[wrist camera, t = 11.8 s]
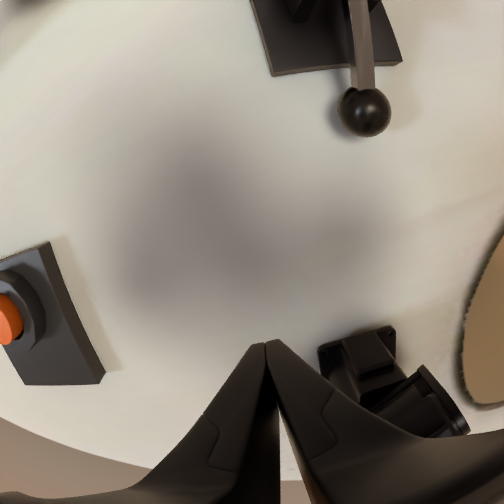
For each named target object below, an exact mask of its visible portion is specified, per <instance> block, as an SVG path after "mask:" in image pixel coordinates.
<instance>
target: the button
mask: <svg viewBox="0 0 504 504" xmlns="http://www.w3.org/2000/svg"><path fill="white" fill-rule="evenodd" d="M22 330H23V319H22V317H21V315H20V313H19V311H18V308H17V307H16V305H15V304H14V303H13V302H12V301H11V300H10V298H9V297H8V296H6V295H3V294H0V344H2V345H8V344H10V343H11V342H12V341H13V340H14V339H15V338H16V337H17V336H18V335H19V334H20V333H21V332H22Z"/></svg>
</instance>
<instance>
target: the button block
mask: <svg viewBox="0 0 504 504" xmlns="http://www.w3.org/2000/svg"><path fill="white" fill-rule="evenodd" d="M0 294H3V295H6V296H8V297H9V298H10V300H11V301H12V302H13V303H14V304H15V305H16V307H17V308H18V311H19V313H20V315H21V317H22V319H23V330H22V332H21V333H20V334H19V335H18V336H17V337H16V338H15V339H14V340H13V341H12V342H11V343H10V344H8V345H2V346H3V347H4V349H5V351H6V353H7V355H8V357H9V359H10V360H11V362H12V364H13V366H14V367H15V369H16V371H17V373H18V374H19V376H20V378H21V379H22V381H23V382H24V384H25V385H90V384H99V383H100V382H101V380H102V378H103V376H104V375H105V370H104V369H103V367H102V365H101V363H100V361H99V359H98V357H97V355H96V353H95V351H94V349H93V347H92V345H91V343H90V341H89V339H88V337H87V335H86V333H85V331H84V329H83V327H82V324H81V322H80V320H79V318H78V316H77V313H76V311H75V309H74V306H73V304H72V302H71V299H70V297H69V294H68V292H67V289H66V287H65V284H64V282H63V279H62V277H61V274H60V271H59V268H58V266H57V263H56V260H55V257H54V254H53V251H52V248H51V245H50V242H47V243H45V244H42V245H39V246H36V247H34V248H31V249H28V250H25V251H23V252H20V253H18V254H15V255H12V256H10V257H7V258H5V259H2V260H0Z"/></svg>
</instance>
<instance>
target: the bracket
mask: <svg viewBox="0 0 504 504" xmlns="http://www.w3.org/2000/svg"><path fill="white" fill-rule="evenodd" d="M250 2H251V5H252V8H253V11H254V15H255V18H256V21H257V25H258V28H259V31H260V35H261V38H262V42H263V45H264V49H265V52H266V56H267V59H268V63H269V67H270V70H271V74H272V76H279V75H286V74H292V73H299V72H307V71H315V70H324V69H334V68H345V67H350V62H349V53H348V44H347V36H346V28H345V21H344V14H343V7H342V1H341V0H250ZM367 3H368V11H369V18H370V27H371V36H372V47H373V59H374V66H385V65H397V64H399V63H401V62H402V61H403V60H402V57H401V53H400V50H399V47H398V44H397V41H396V38H395V35H394V33H393V30H392V27H391V24H390V22H389V19H388V17H387V14H386V12H385V9H384V7H383V4H382V2H381V0H367Z"/></svg>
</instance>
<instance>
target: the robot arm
mask: <svg viewBox="0 0 504 504" xmlns="http://www.w3.org/2000/svg"><path fill="white" fill-rule="evenodd" d="M390 331H391V333H390V334H388V333H389V332H390ZM323 351H326V352H325V353H322V352H323ZM395 354H396V331H395V329H394V328H393V327H391V326H389V327H385V328H382V329H379V330H376V331H371V332H368V333H364V334H361V335H358V336H354V337H351V338H347V339H344V340H341V341H337V342H334V343H330V344H326V345H322V346H320V347H319V348H318V350H317V355H318V361H319V368H320V374H319V373H318V372H317V371H316V370H314V369H313V368H312V367H311V366H310V365H309V364H307V363H306V362H305V361H304V360H303V359H301V358H300V357H299V356H298V355H297V354H296V353H294V352H293V351H292V350H291V349H290V348H289V347H287V346H286V345H285V344H284V343H283V342H282V341H281V340H279V339H276V340H271V341H267V342H266V343H263V342H262V343H257V344H252V345H251V346H250V347H249V349H248V350H247V351H246V353H245V354H244V356H243V357H242V359H241V360H240V362H239V363H238V365H237V366H236V367H235V369H234V370H233V372H232V373H231V375H230V376H229V377H228V379H227V380H226V382H225V383H224V385H223V386H222V387H221V389H220V390H219V392H218V393H217V394H216V396H215V397H214V399H213V400H212V401H211V403H210V404H209V406H208V407H207V408H206V410H205V411H204V412H203V415H201V416H200V418H199V419H198V420H197V422H196V423H195V424H194V426H193V427H192V428H191V429H190V431H189V432H188V433H187V434H186V436H185V437H184V438H183V439H182V440H181V441H180V442H179V443H178V444H177V446H176V447H175V448H174V449H173V450H172V451H171V452H170V453H169V454H168V455H167V456H166V457H165V458H164V459H163V460H162V461H161V462H160V463H159V464H158V465H157V466H156V467H155V468H154V469H153V470H152V471H151V472H150V473H149V474H148V475H147V476H146V477H144V478H143V479H142V480H141V481H139V482H138V483H136V484H135V485H133V486H131V487H128V488H125V489H122V490H117V491H112V492H106V493H100V494H93V495H86V496H79V497H71V498H59V499H42V498H35V497H31V496H28V495H25V494H23V493H20V492H4V493H0V504H280V429H279V411H280V414H281V417H282V420H283V423H284V426H285V429H286V432H287V435H288V438H289V441H290V444H291V447H292V450H293V453H294V455H295V458H296V461H297V464H298V467H299V470H300V473H301V475H302V478H303V481H304V484H305V487H306V490H307V492H308V495H309V498H310V501H311V504H504V429H500V430H496V431H491V432H485V433H478V434H471V435H467V434H468V433H469V432H470V431H471V430H470V427H469V425H468V423H467V422H466V420H465V418H464V416H463V415H462V413H461V412H460V410H459V408H458V407H457V406H456V404H455V403H454V401H453V400H452V398H451V397H450V396H449V394H448V393H447V392H446V390H445V389H444V388H443V387H442V386H441V385H440V383H439V382H438V381H437V380H436V379H435V378H434V376H433V375H432V374H431V373H430V372H429V371H428V370H427V368H426V367H425V366H424V365H422V366H420V367H419V368H418V369H417V371H416V372H415V373H414V374H412V375H411V376H410V377H408V378H407V376H406V375H405V373H404V372H403V370H402V369H401V368H400V366H399V365H398V363H397V362H396V360H395ZM278 407H279V408H278Z"/></svg>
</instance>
